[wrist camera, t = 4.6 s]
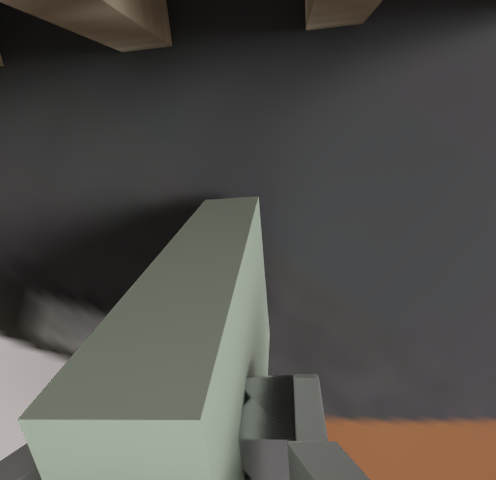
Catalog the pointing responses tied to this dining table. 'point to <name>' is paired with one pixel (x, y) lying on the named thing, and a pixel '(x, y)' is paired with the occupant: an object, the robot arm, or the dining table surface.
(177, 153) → the dining table surface
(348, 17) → the domino
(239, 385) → the end domino
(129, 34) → the domino
